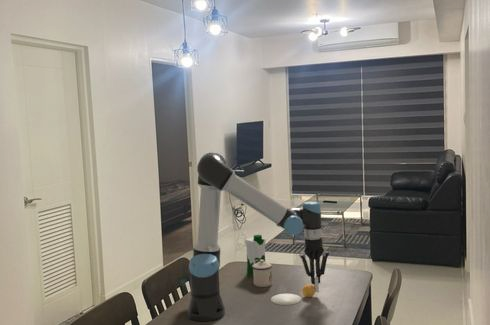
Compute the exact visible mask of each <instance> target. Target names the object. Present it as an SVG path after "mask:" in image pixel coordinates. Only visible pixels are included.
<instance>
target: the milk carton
mask: <svg viewBox="0 0 490 325" xmlns="http://www.w3.org/2000/svg"><path fill="white" fill-rule="evenodd" d="M266 240H267V239H266V238H263V236H262V234H256V235H255V234H254V235H253V237H249V238H246V239H244V243H245V247H246V266H247V267H246V275H248V276H251V277H253V265H254V264H256V263H258V262H260V260H264V262H266V249H265V248H266V242H267V241H266Z"/></svg>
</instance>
